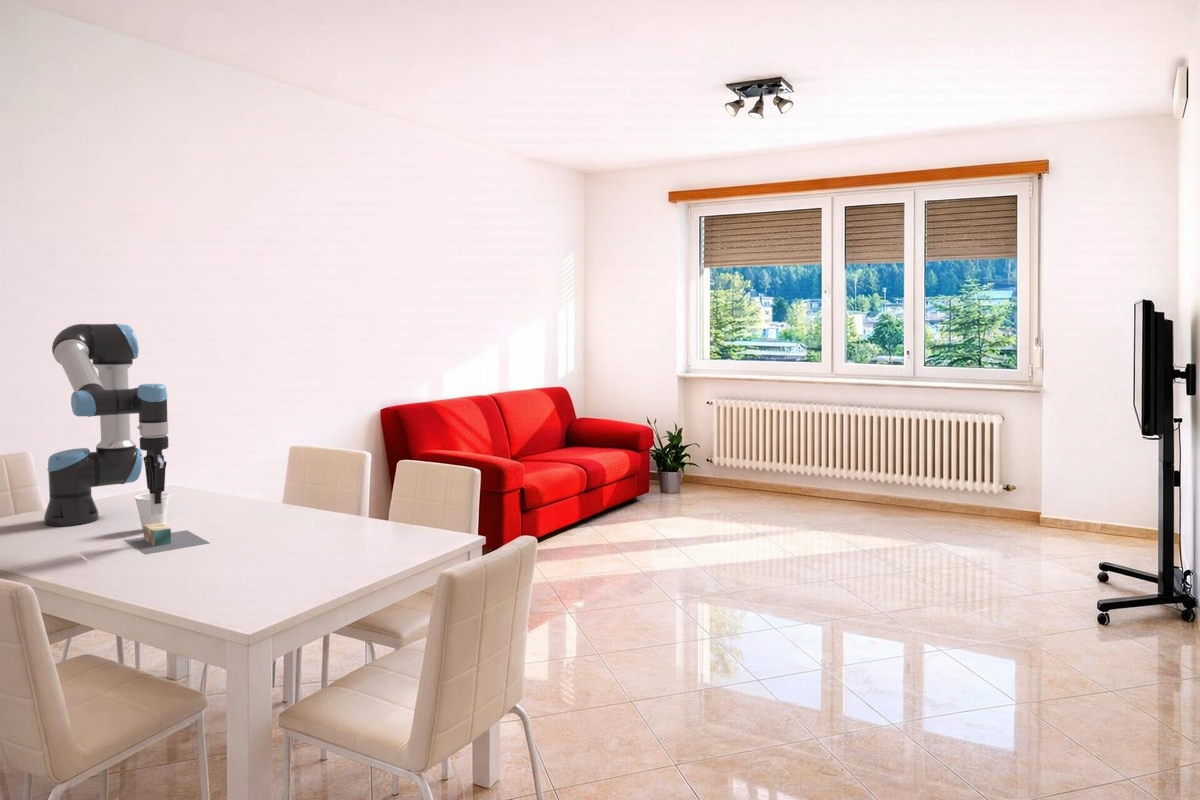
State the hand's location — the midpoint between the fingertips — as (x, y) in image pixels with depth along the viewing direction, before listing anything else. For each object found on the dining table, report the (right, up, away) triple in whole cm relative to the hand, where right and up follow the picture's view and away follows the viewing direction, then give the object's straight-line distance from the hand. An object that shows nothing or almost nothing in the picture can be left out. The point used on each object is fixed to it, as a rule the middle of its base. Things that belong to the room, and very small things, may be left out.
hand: (156, 513), depth 249 cm
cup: (-9, -7, +16) cm, 20 cm away
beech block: (+3, -7, -3) cm, 8 cm away
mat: (+3, -9, +1) cm, 9 cm away
